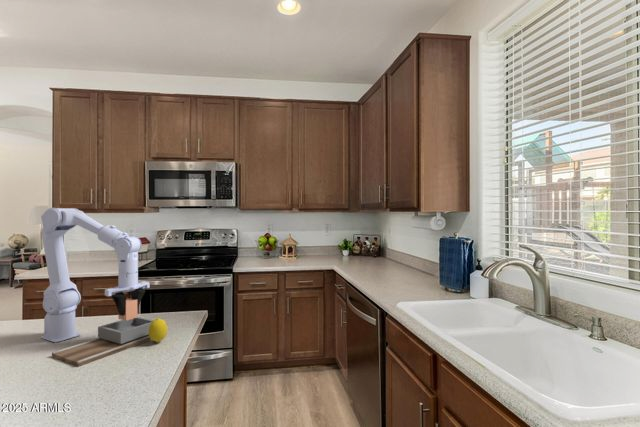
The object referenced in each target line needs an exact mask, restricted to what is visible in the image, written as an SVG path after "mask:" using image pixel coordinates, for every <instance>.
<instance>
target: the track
mask: <svg viewBox="0 0 640 427" xmlns="http://www.w3.org/2000/svg"><path fill="white" fill-rule="evenodd" d="M149 341H152V340H151V338H150V337H149V334H148V335H145V336H142V337H140V338H137V339H134V340H131V341H128V342H125V343H124V344H119V343H116V342H112V341H109V340H105V339H102V338H98V337H97V338H94V339H91V340H88V341H85V342H81V343H78V344H75V345H72V346H68V347H65V348H62V349H59V350H55V351H52V352H51V357H52V358H54V359H56V360H60V361H62V362H66V363H67V364H70V365H73V366H76V367H81V366H84V365H87V364H90V363H93V362H95V361H98V360H101V359H103V358H106V357H108V356H111V355H114V354H116V353H120V352H122V351H125V350H127V349H131V348H133V347H135V346H138V345H141V344H145V343H146V342H149Z"/></svg>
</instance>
